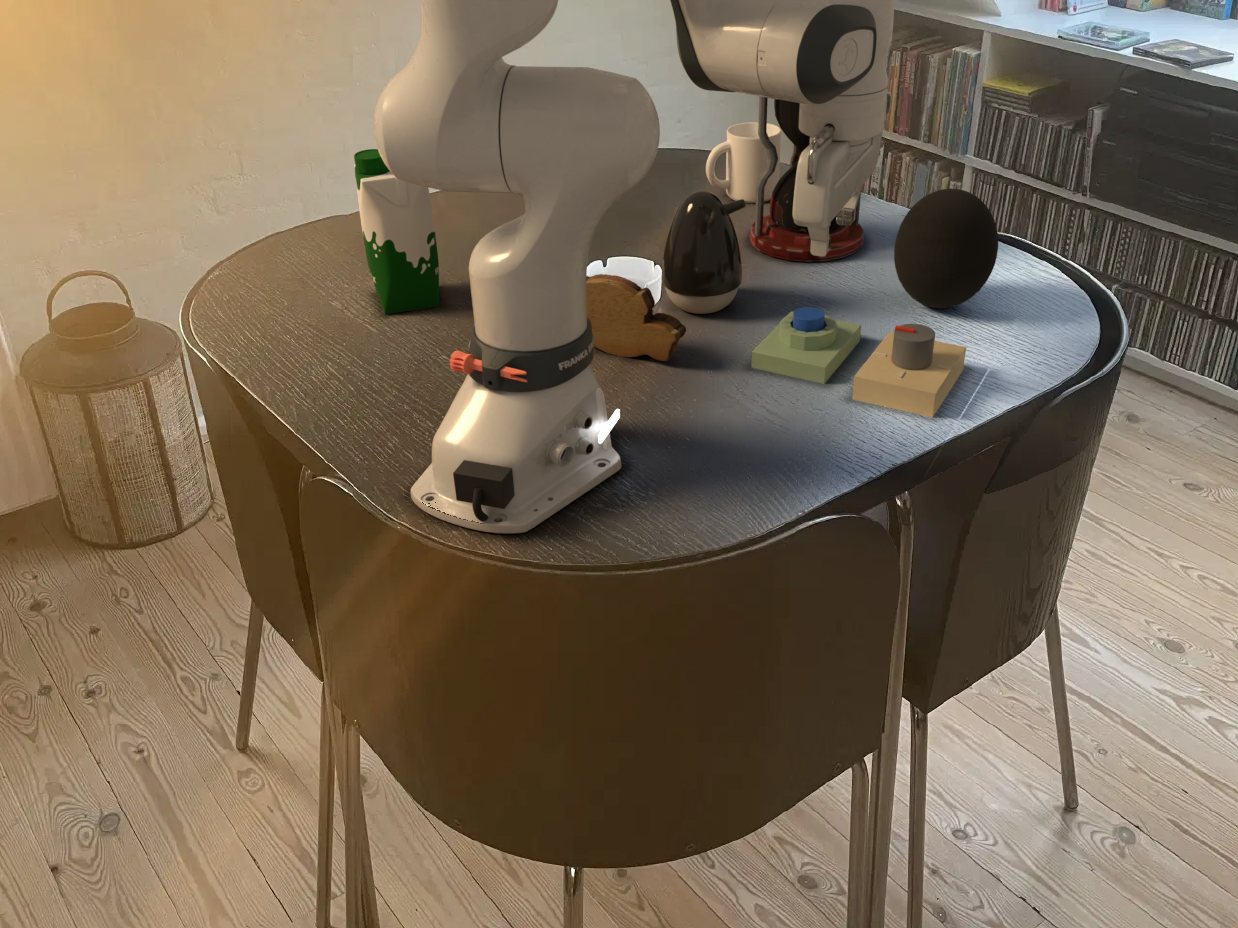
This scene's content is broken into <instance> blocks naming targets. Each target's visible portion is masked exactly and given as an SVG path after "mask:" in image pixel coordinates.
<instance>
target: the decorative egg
mask: <svg viewBox="0 0 1238 928" xmlns="http://www.w3.org/2000/svg"><path fill="white" fill-rule="evenodd" d="M893 247H894V249H893V261H894V268H895V272H896V275H897V278H898V280H899V282H900V284H901V286H902V288H903V289H904V291H905V292H906V293H907V295H909V296H910V297H911V298H912V299H913V300H914V301H916V302H917V303H919V304H921V305H923V306H926V307H928V308H933V309H948V308H953V307H957V306H959V305H962V304H964V303H966V302H967V301H969V300H970V299H972V298H973V297H974V296H976V294H978V293H979V292H980V290H982V289H983V287H984V286H985V284H986V283H987V281H988V279H989V278H990V276H991V275H992V272H993V270H994V268H995V265H996V262H997V256H998V253H999V232H998V228H997V224H996V221H995V218H994V215H993V214H992V212H991V211H990V209H989V207H988V205H986V203H985V202H984V201H983V200H982V199H980V197H978V196H977V195H975V194H973V193H971V192H969V191H967V190H963V189H959V188H943V189H939V190H935V191H933V192H930V193H928V194H927V195H925V196H923V197H922V198H921V199H919V200H918V201H917V202H916V203H914V205H913V206H911V208H910V209H909V210H908V212H907V213H906V214H905V216H904V217H903V219H902V221H901V223H900V225H899V227H898V230H897V234H896V236H895V242H894V246H893Z"/></svg>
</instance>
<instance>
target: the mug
mask: <svg viewBox="0 0 1238 928" xmlns="http://www.w3.org/2000/svg"><path fill="white" fill-rule="evenodd" d="M758 122H759V121H757V122H755V121H749V122H741V123H736V124H733V125H730V126H729V127H728V128H727V129H726V140H725V141H723V142H721V143H719V144H717V145H716V146H715V147H714V148H713V149H712V150H711V151H710V152H709V155H708V157H707V160H706V163H705V176H706V178H707V180H708V182H709V184H710V185H711V186H712V187H714V188H715V189H718V190H725V193H726V195H727V196H728V197H729V198H730V199H731V200H733V201H737V200H741V199H743V200H744V201H745V204H756V186H757V184H758V181H759V178H760V176H761V175H762V174H763V173H764V171H765V170H766V167H767V163H768V154H767V149H766V148H765V146H764V145H763V144H762V143H761V141H760V138H759V135H758ZM766 132H767V134H768V137H769V140H770V141H771V142H772V143H773V145H774V146H775V147H776V151H777V155H778V161H777V164H776V168H775V171H774V173H773V174H772V175H771V176H770V177H769V178H768V180H767V183H766V185H765V187H764V203H765V202H770V201H771V196H772V192H773V190H774V188H775V186H776V184H777V182H778V181H779V179H780V168H781V167H780V165H781V144H782V143H781V141H782V129H781V128H780V126H779V125H778V126H777V125H775V124H774V123H768V122H767V129H766ZM724 153H726V157H725V179H719V178H717V175H716V171H715V168H716V167H715V166H716V162H717V160H718V158H719V157H720V156H721V155H722V154H724Z"/></svg>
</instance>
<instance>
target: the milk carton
mask: <svg viewBox="0 0 1238 928" xmlns="http://www.w3.org/2000/svg"><path fill="white" fill-rule="evenodd" d="M353 160H354V176H355V184H356V194H357V204H358V211H359V218H360V225H361V231H362V238H363V244H364V250H365V256H366V262H367V267H368V271H369V274H370V277H371V280H372V283H373V285H374V288H375V291H376V293H377V296H378V300H379V301H380V302H379V303H380V304H381V308H382V311H383V313H384V315H391V314H398V313H403V312H410V311H415V310H416V311H417V310H421V309H428V308H435V307H439V306H440V262H439V253H438V252H439V251H438V244H437V238H436V237H437V236H436V228H435V221H434V220H435V219H434V213H433V205H432V198H431V197H432V196H431V194H430V188H429V187H425V186H421V185H417V184H413V183H409V182H405V181H401V180H399V179H397V178H396V177H395V176H394V175H393V174H392V173H391V172H390V170H389V169H388V168H387V166H386V165H385V163H384V162H383V160H382V158H381V156H380V154H379V151H378V149H377V148H369V149H363V150H359V151H357V152H355V153H354V154H353Z"/></svg>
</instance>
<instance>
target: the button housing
mask: <svg viewBox="0 0 1238 928" xmlns="http://www.w3.org/2000/svg"><path fill="white" fill-rule="evenodd" d="M793 313H794V311H790V312H788V314H786V315H785V316H783V318H782V319H781V320H780V321H779V323H778V324H777V325H776V326H775V327H774V328H773V329H772V330H771V331H770V333H768V334H767V336H765V337H764V338H763V340H761V342H759V344H758V345H756V347H755V348H754V349H753V350H752V351H751V369H754V370H760V371H765V372H768V373H772V374H778V375H783V376H787V377H792V378H795V379H800V380H805V381H809V382H813V383H819V384H823V385H825V384H826V383H827V381H828V380H830V378H831V377H832V376H833V375H834V373H835V372H836V371H837V369H838V368H839V367H840V366H841V365H842V363H844V361H845V360H846V358H847V357H848V356H850V354H851V353H852V352H853V350H855V348H856V346H858V344H859V343H860V342H861V333H862V332H861V331H862V324H859V323H855V322H854V323H853V322H849V321H845V320H844V321H843V320H837V319H835V318H832V317H831V316H829V315H827V314H825V318H824V328H823V330H820V331H817V332H803V331H798V330H796V329H794V328H793Z"/></svg>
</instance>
